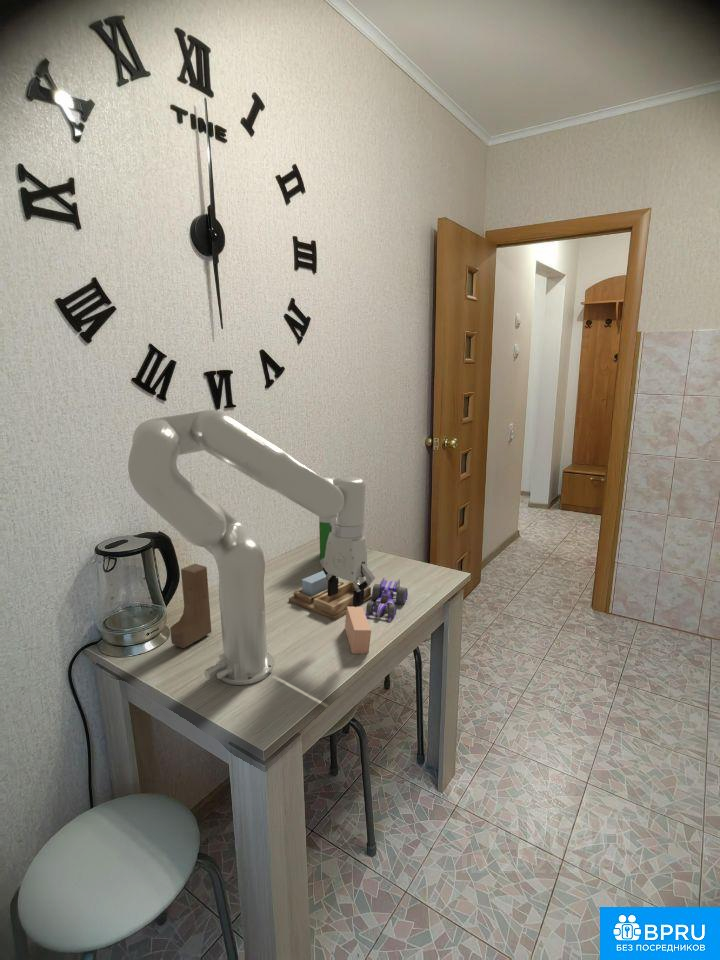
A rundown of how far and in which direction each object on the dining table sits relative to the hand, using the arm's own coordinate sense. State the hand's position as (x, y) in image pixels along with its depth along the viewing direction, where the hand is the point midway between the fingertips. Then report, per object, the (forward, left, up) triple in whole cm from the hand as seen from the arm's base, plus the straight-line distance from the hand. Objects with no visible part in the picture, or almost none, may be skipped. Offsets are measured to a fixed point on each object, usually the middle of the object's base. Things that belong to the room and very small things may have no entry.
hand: (345, 599), depth 119 cm
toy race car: (+20, +3, -12) cm, 23 cm away
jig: (+14, +18, -11) cm, 26 cm away
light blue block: (+14, +23, -10) cm, 29 cm away
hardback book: (+42, +40, -11) cm, 59 cm away
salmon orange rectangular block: (+2, -2, -11) cm, 11 cm away
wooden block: (-23, +31, -11) cm, 40 cm away
